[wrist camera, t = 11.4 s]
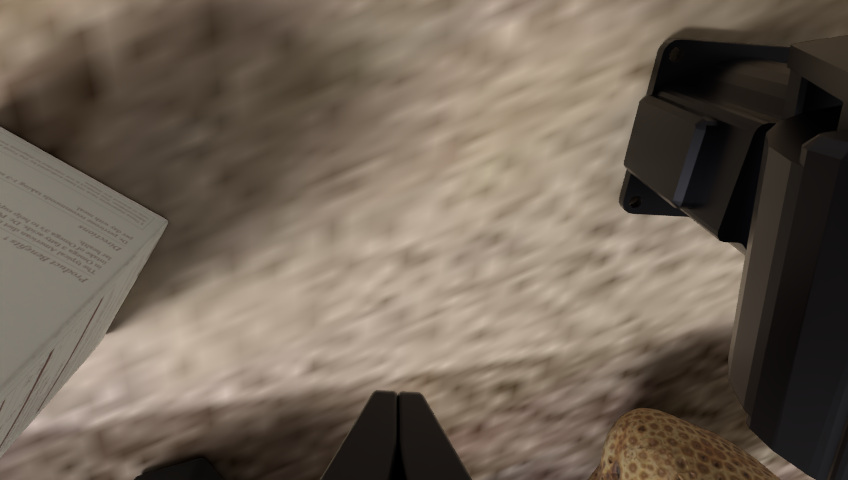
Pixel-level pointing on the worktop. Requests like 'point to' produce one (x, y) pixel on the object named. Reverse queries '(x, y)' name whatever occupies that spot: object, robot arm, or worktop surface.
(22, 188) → the supplement box
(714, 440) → the tan rounded lump
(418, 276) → the worktop surface
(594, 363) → the worktop surface
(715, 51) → the robot arm
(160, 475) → the battery
